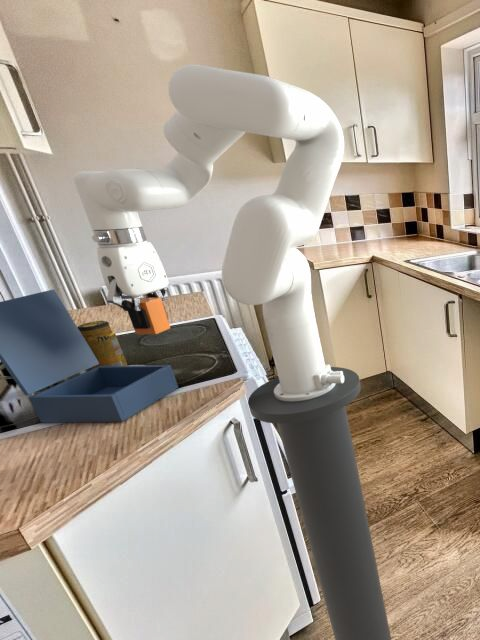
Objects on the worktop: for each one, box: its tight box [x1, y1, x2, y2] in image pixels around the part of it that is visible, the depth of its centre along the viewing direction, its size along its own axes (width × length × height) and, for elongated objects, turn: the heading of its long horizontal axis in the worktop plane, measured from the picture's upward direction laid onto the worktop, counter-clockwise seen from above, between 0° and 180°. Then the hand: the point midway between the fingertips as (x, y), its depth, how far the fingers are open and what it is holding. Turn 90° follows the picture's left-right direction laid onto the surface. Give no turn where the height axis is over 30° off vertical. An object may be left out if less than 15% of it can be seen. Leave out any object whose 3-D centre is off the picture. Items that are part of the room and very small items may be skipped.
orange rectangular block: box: [129, 297, 171, 335], centre depth 90 cm, size 4×4×7 cm
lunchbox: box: [28, 364, 179, 424], centre depth 83 cm, size 16×14×5 cm
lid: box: [0, 288, 99, 396], centre depth 79 cm, size 16×14×5 cm
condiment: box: [77, 320, 144, 370], centre depth 96 cm, size 7×8×12 cm
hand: (151, 323), depth 90 cm, fingers closed on orange rectangular block, 4 cm apart
